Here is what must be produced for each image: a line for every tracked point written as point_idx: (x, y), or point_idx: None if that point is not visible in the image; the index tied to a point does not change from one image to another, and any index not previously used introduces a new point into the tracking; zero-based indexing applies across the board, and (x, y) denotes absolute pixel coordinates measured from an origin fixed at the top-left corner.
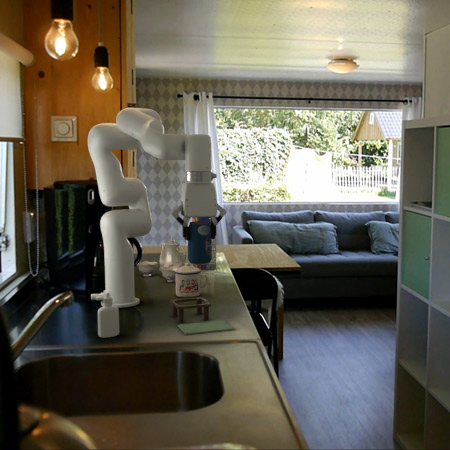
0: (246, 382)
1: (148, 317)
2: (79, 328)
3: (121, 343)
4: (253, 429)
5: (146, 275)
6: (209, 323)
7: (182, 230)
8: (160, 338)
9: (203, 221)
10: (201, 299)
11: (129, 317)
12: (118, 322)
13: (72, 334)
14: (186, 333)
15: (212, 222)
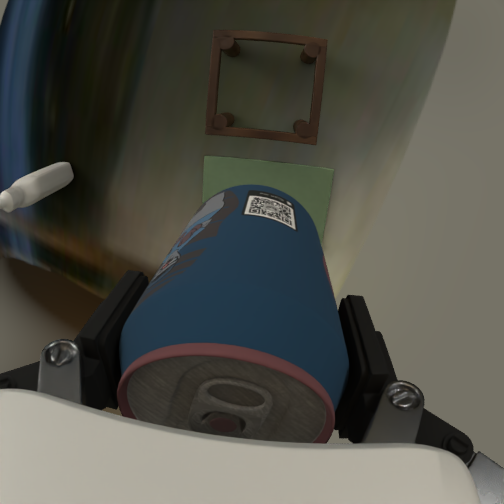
0: None
1: (162, 37)
2: (21, 97)
3: (77, 236)
4: None
5: None
6: (286, 182)
7: (84, 327)
8: (145, 238)
9: (309, 386)
10: (316, 62)
11: (120, 24)
12: (58, 186)
13: (11, 139)
14: None
15: (361, 436)
